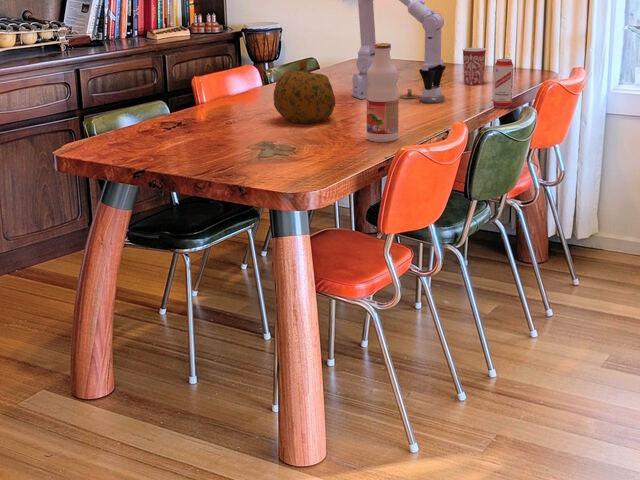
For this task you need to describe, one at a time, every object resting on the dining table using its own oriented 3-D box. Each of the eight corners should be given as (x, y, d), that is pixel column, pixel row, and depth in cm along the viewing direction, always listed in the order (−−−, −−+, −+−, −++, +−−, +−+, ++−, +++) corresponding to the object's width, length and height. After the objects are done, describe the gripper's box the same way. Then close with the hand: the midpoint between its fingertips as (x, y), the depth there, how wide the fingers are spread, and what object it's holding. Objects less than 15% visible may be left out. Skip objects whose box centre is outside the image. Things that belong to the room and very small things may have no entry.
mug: (482, 86, 354) (483, 51, 349) (459, 85, 357) (460, 50, 353) (489, 81, 365) (490, 46, 360) (467, 80, 368) (468, 46, 364)
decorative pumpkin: (282, 127, 289) (281, 62, 284) (268, 120, 309) (267, 59, 304) (344, 124, 294) (344, 61, 289) (326, 117, 314) (326, 58, 309)
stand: (405, 100, 331) (405, 91, 330) (396, 96, 338) (396, 88, 337) (422, 98, 334) (422, 89, 333) (413, 95, 340) (413, 86, 339)
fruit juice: (401, 141, 270) (401, 45, 261) (369, 143, 269) (368, 46, 260) (395, 134, 279) (395, 41, 270) (364, 136, 278) (363, 42, 269)
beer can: (511, 108, 312) (513, 61, 306) (492, 108, 313) (494, 61, 308) (511, 105, 317) (513, 58, 312) (493, 104, 319) (495, 58, 313)
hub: (426, 104, 323) (426, 91, 321) (415, 100, 331) (415, 87, 329) (449, 101, 326) (449, 89, 324) (437, 97, 334) (437, 85, 332)
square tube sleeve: (435, 98, 325) (436, 88, 323) (422, 97, 327) (422, 87, 326) (441, 96, 329) (441, 86, 328) (427, 95, 331) (427, 85, 330)
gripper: (435, 52, 314) (435, 91, 319) (451, 47, 326) (450, 85, 331) (416, 51, 318) (416, 90, 322) (432, 46, 330) (432, 84, 334)
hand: (432, 87), depth 327 cm, fingers open, 7 cm apart
